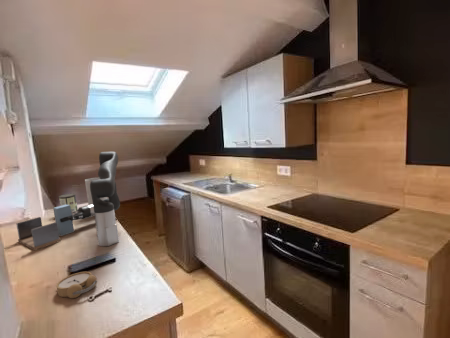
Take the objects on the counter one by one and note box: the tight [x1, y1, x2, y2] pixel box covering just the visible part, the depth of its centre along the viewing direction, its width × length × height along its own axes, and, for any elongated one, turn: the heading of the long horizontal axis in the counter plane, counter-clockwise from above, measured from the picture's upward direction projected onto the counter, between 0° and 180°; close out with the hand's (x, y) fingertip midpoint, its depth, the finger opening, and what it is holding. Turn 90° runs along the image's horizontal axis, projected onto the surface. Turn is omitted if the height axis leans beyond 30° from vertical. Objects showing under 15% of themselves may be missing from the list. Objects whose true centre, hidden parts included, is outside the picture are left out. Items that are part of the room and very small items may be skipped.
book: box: [52, 204, 75, 237], centre depth 145 cm, size 4×7×16 cm, turn 147°
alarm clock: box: [55, 271, 98, 299], centre depth 91 cm, size 11×5×15 cm
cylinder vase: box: [84, 176, 108, 205], centre depth 181 cm, size 12×12×25 cm
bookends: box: [15, 216, 60, 247], centre depth 136 cm, size 21×11×9 cm, turn 57°
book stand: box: [17, 236, 62, 251], centre depth 136 cm, size 21×12×2 cm, turn 57°
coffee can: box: [58, 193, 79, 212], centre depth 182 cm, size 10×10×14 cm
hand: (58, 220), depth 143 cm, fingers closed on book, 4 cm apart
